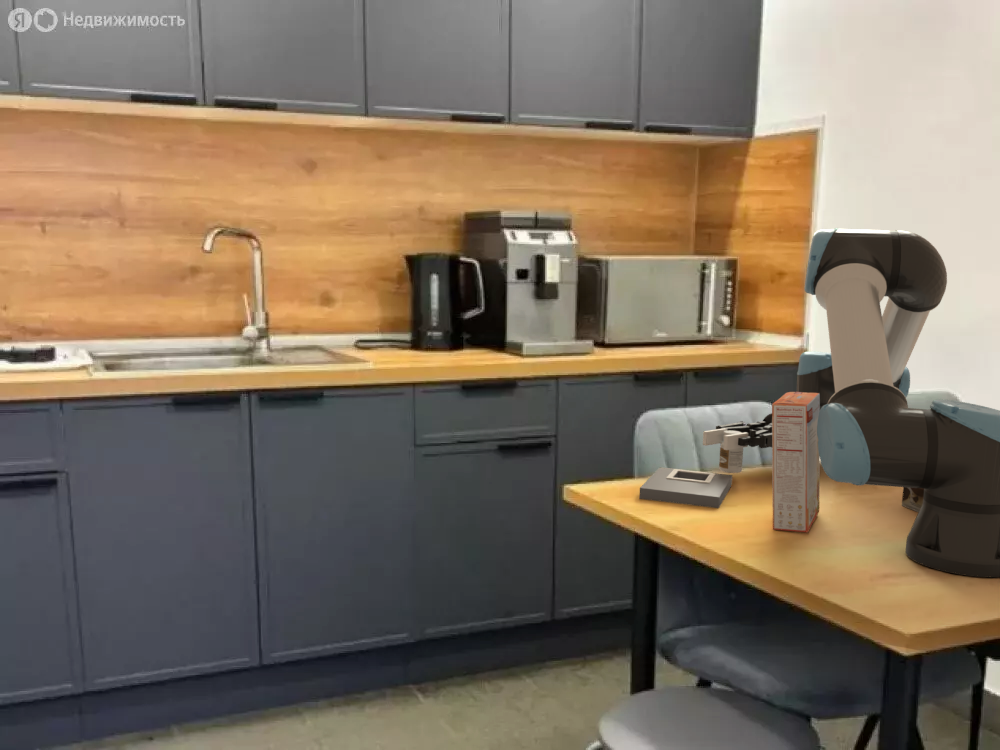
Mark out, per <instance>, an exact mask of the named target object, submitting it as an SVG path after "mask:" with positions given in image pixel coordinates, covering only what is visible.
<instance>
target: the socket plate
mask: <svg viewBox="0 0 1000 750" xmlns="http://www.w3.org/2000/svg"><path fill="white" fill-rule="evenodd" d="M731 485H732V486H733V474H727V473H716V472H709V471H708V472H707V471H697V470H691V469H690V470H688V469H679V468H671V467H670V468H669V467H662V466H661V467H660V466H659V467H658V469H656V470H655V471H654V473H653V474H651V476H649V478H648V479H646V481H645V482H644V483H643V484H642V485H641V486H640V487H639V495H638V496H639V500H648V501H653V502H654V501H656V502H664V503H672V504H681V505H687V506H697V507H704V508H705V507H706V508H712V509H713V508H714V509H719V508H720V507H721V505H722V503H723V502H724V500H725V498H726V496H727V494H728V492H730V489H731V488H730V487H732V486H731Z"/></svg>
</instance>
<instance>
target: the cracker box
mask: <svg viewBox="0 0 1000 750" xmlns="http://www.w3.org/2000/svg"><path fill="white" fill-rule="evenodd" d="M819 412H820V394H819V393H806V392H797V391H789V392H785V393H784V394H783V395H782V396H781V397H780V398H778V399H777V400H775V401H774V402H772V404H771V413H772V447H771V449H772V454H771V455H772V456H771V459H772V460H771V461H772V462H771V463H772V464H771V465H772V468H771V469H772V476H771V477H772V482H771V483H772V530H774V531H780V532H781V531H783V532H797V533H806V534H807V533H809V532H810V529H811V527H812V525H813V524H814V522H815V520H816V518H817V516H818V515H819V513H820V456H819V451H818V436H817V422H818V416H819Z"/></svg>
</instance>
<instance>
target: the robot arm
mask: <svg viewBox="0 0 1000 750" xmlns="http://www.w3.org/2000/svg"><path fill="white" fill-rule="evenodd" d="M947 284H948V273H947V267H946V265H945V262H944V260H943V258H942V255H941V254H940V252H939V251H938V250H937V248H936V247H935V246H934V245H933V244H932V243H931V242H930V241H929V240H928V239H926V238H924V237H923V236H922V235H919V234H917V233H915V232H912V231H908V230H898V229H897V230H896V229H895V230H889V229H887V230H884V229H883V230H881V229H858V228H857V229H852V228H851V229H850V228H839V227H835V228H830V229H827V228H825V229H823V228H822V229H819V230H817V231H816V232H814V234H813V236H812V238H811V244H810V249H809V256H808V261H807V269H806V274H805V281H804V292H805V293H806V294H809V295H812V296H815V298H816V300H817V301H816V302H817V303H818V304H819V305H820V307H822V308H823V309H824V310H825V311H826V317H827V319H826V320H827V327H828V338H829V347H830V352H827V351H804V352H802V353H801V354H800V356H799V360H798V361H799V362H798V368H797V372H796V375H797V377H796V378H797V380H796V392H806V393H819V394H820V412H819V416H818V422H817V436H818V451H819V462H820V464H821V466H822V469H823V471H824V473H825V474H826V476H827V477H828V478H829V479H831V480H832V481H834V482H837V483H846V484H852V485H854V486H864V485H865V486H881V487H882V486H883V487H896V488H898V487H899V488H903V487H908V488H923V489H924V496H923V504H922V507H921V509H920V511H919V512H917V516H916V518H915V520H914V522H913V523H912V527H911V528H910V530H909V533H908V535H907V537H906V544H905V554H906V556H907V557H909V558H910V559H911V560H913V561H914V562H916V563H917V564H920V565H923V566H926V567H928V568H931V569H934V570H938V571H942V572H946V573H951V574H956V575H963V576H969V577H979V578H1000V410H999V409H995V408H992V407H987V406H984V405H980V404H975V403H970V402H965V401H959V400H953V399H942V398H936V399H933V400H932V402H931V404H930V405H929V409H928V408H927V409H924V408H913V407H912V408H911V407H909V405H908V400H907V397H908V395H909V393H910V392H909V391H910V386H911V373H910V370H909V368H908V366H907V364H908V362H909V360H910V358H911V355H912V354H913V350H914V348H915V346H916V345H917V342H918V340H919V337H920V335H921V332H922V331H923V327H924V326H925V323H926V322H927V319H928V316H929V315H930V312H931V311H933V310H935V309H936V308H937V307H938V306H939V305H940V303H941V301H942V300H943V297H944V295H945V292H946V289H947V286H948V285H947ZM884 297H888V300H887V302H886V304H885V307H884V309H883V313H882V308H881V302H882V301H883V299H884ZM729 430H731V431H739V432H741V433H738V434H732V435H725V436H724V431H729ZM723 436H724V437H723ZM723 438H724V439H723ZM723 441H724V450H731V449H737V448H743V449H744V448H747V447H748V446H749V447H751V448H754V447H758V448H759V449H766V448H772V412H770V413H768V414H767V415H766V416H765V417H764V418H763V419H762V421H761V420H760V421H757V422H750V423H748V422H747V423H746V422H745V421H743V420H740V421H737V422H734V423H728V424H720V425H719V424H718V425H716V426H715V429H711V430H705V431H703V433H702V446H712V445H718V444H720V445H721V443H722V442H723Z"/></svg>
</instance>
